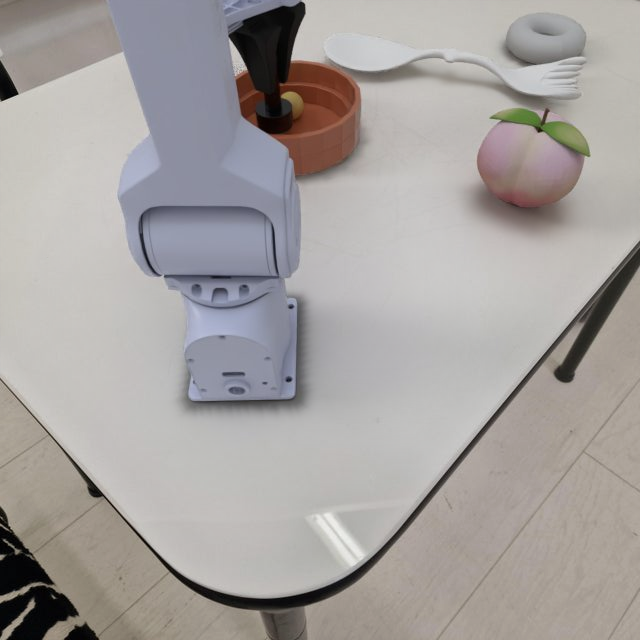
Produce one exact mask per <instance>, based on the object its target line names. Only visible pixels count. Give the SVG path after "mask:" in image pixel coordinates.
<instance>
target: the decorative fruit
mask: <svg viewBox="0 0 640 640" xmlns="http://www.w3.org/2000/svg"><path fill="white" fill-rule="evenodd" d="M489 120H496V121H497V120H498V122H497V123H496V124H495V125H493V126H492V127H491V128H490V130H489V131H488V132H487V134H485V135H486V136H485V137H484V139H483V140H482V142H481V145H480V147H479V149H478V151H477V156H476V166H477V170H478V171H477V172H478V174H479V176H480V178H481V180H482V182H483V184H484V185H485V186H486V187H487V188H488V190H489V191H490V192H491V193H492V194H493V195H494V196H495V197H497V198H498V199H499V200H501V201H503V202H506V203H510V204H513V205H516V206H518V207H519V208H536V207H537V208H538V207H545V206H547V205H551V204H553V203H556V202H558V201H560V200H561V199H563V198H565V197H566V196H568V195H569V194H570V193H571V192H572V190H573V189H574V188H575V187H576V186H577V184H578V182H579V179H580V177H581V174H582V171H583V168H584V164H585V159H586V158H591V151H590V146H589V144H588V141H587V139H586V138H585V136H584V134H583V133H582V132H581V131H580V130H579V128H577V127H576V126H575V125H574V124H573V123H572V122H571V121H570V120H568V119H567V118H565V117H563V116H561V114H558V113H554V112H551V111H550V108H548V107H545V109H544V110H541V109H534V110H533V109H532V110H530V109H528V108H523V107H511V108H507V109H503V110H501V111H498V112H496V113H494V114H492V115H491V116H489ZM585 157H586V158H585Z"/></svg>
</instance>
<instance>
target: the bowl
mask: <svg viewBox="0 0 640 640" xmlns="http://www.w3.org/2000/svg"><path fill="white" fill-rule="evenodd" d="M235 80H236V86H237V92H238V98H239V105H240V111H241V115H242V117H243V118H244V119H246V120H247V121H248V122H250V123H251V124H253V125H254V126H256V127H257V128H258V126H257V119H256V112H255V107H256V105H257V103H258V102H260V101H261V100H264V93H263V92H260V91H257V90H255V88H254V85H253V82H252V80H251V77H250V75H249V73H248V70H247V69H245V70H243V71H241V72H239V73H238V74H237V75H236V74H235ZM280 90H281V95H283V94H284V93H286V92H295V93H297V94H298V95H300V97H301V98H302V100H303V103H304V109H303V112H302V114H301V116H300V117H298V118H297V119H295V120H293V126H292V128H291V129H290V130H288V131H286V132H284V133H281V134H268V135H270V136H271V137H273V138H274V139H276V140H277V141H279V142H280V143H281V144H283V145H284V146H286V147H287V149H288V150H289V158H291V159H292V160H293V164H294V173H295V176H303V175H308V174H313V173H316V172H320V171H324V170H326V169H328V168H331V167H333V166H334V165H337V164H339V163H340V162H342V161H344V159H346V158H347V157H348V156H349V155H350V154H351V153H352V152H353V151H354V150H355V148H356V146H357V144H358V142H359V140H360V137H361V116H362V115H361V114H362V94H361V88H360V86H359V85H358V83H357V82H356V80H355V79H354V78H353V77H352V76H351V75H349V74H348V73H346V72H345V71H343V70H341V69H340V68H337V67H335V66H331V65H328V64H325V63H322V62H318V61H317V62H316V61H308V60H301V59H299V60H296V59H295V60H294V59H293V60H291V63H290V69H289V75H288V80H287V82H286V83H285V84H282V83H280Z"/></svg>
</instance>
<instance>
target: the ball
mask: <svg viewBox="0 0 640 640" xmlns="http://www.w3.org/2000/svg"><path fill="white" fill-rule="evenodd" d="M281 98H284V99H287V100H288V101H290V102H291V104H292V109H293V120H295V119H297V118H298V117H300V116H301V114H302V112H303V109H304V103H303V100H302V98H301V97H300V95H298V94H297V93H295V92H286V93H284V94H283V95H281Z"/></svg>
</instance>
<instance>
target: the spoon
mask: <svg viewBox="0 0 640 640" xmlns="http://www.w3.org/2000/svg"><path fill="white" fill-rule="evenodd" d="M322 51H323V54H324V55H325V57H326V58H327V59H329V60H330V61H331V62H333V63H335V64H336V65H338V66H340V67H343V68H345V69H348V70H351V71H355V72H361V73H382V72H383V73H384V72H388V71H392V70H395V69H398V68H401V67H405V66H407V65H411V64H413V63H416V62H418V61H422V60H427V59H440V60H444V61H445V62H446V63H448V64H454V63H464V64H472V65H476V66H478V67H482V68H483V69H486V70H487V71H489V72H490V73H492V74H493V75H494V76H496V77H497V78H498V79H499V80H500V81H502V82H503V83H504V84H505V85H506V86H508V87H509V88H510V89H511V90H513V91H515V92H517V93H520V94H522V95H527V96H533V97H541V98H548V99H555V100H564V101H565V100H566V101H568V100H569V101H571V100H572V101H574V100H578V99H579V98H581V97H582V92H580V90H579V89H578V88H579V86H578V85H575V84H577V83H578V79H576V78H575V77H578V76H580V75H581V72H579V71H581V70H582V69H583V68H584V67H583V65H584V64H586V63H587V62H588V59H587V57H586V56H577V57H573V58H568V59H564V60H561V61H557V62H553V63H548V64H540V65H539V64H534V65H533V64H532V65H528V66H524V67H520V68H514V69H513V68H507V67H505V66H503V65H501V64H499V63H497V62H496V61H494V60H493V59H490V58H489V57H486V56H484V55H481V54H478V53H472V52H468V51H463V50H460V49H458V48H457V47H450V48H416V47H414V46H410V45H406V44H405V43H404V44H403V43H401V42H397V41H394V40H391V39H386V38H383V37H377V36H375V35H371V34H365V33H358V32H337V33H334V34H331V35H329V36H328V37H327V38H326V39H325V41H324V43H323V46H322Z"/></svg>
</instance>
